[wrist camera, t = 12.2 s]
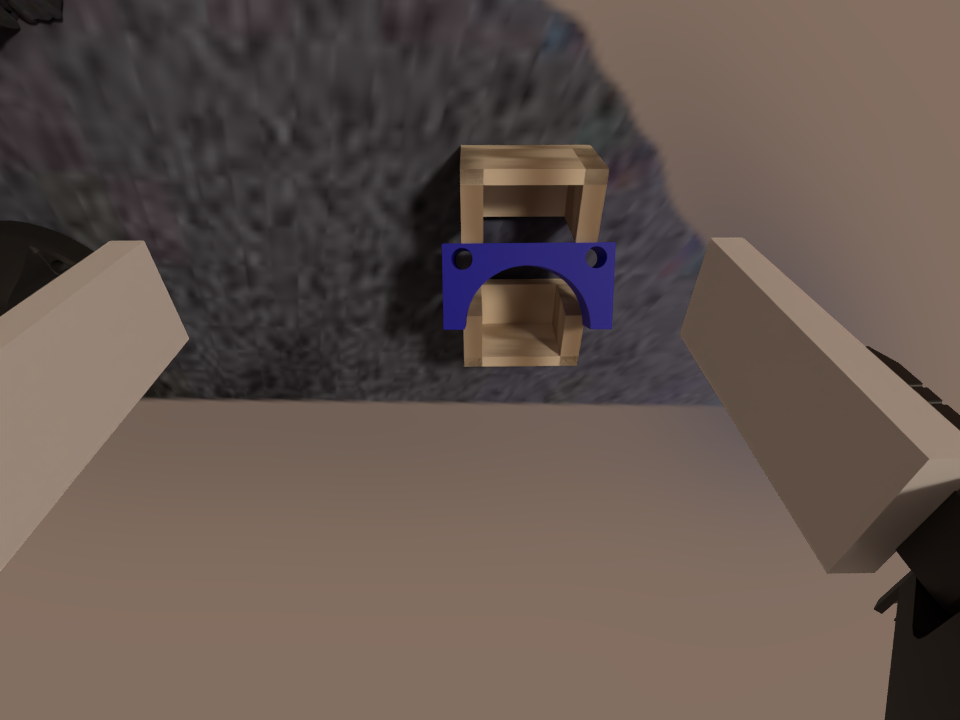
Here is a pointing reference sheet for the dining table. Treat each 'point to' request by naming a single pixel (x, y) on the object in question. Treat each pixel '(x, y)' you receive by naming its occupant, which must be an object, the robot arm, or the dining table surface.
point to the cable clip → (557, 258)
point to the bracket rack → (528, 302)
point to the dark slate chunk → (27, 11)
